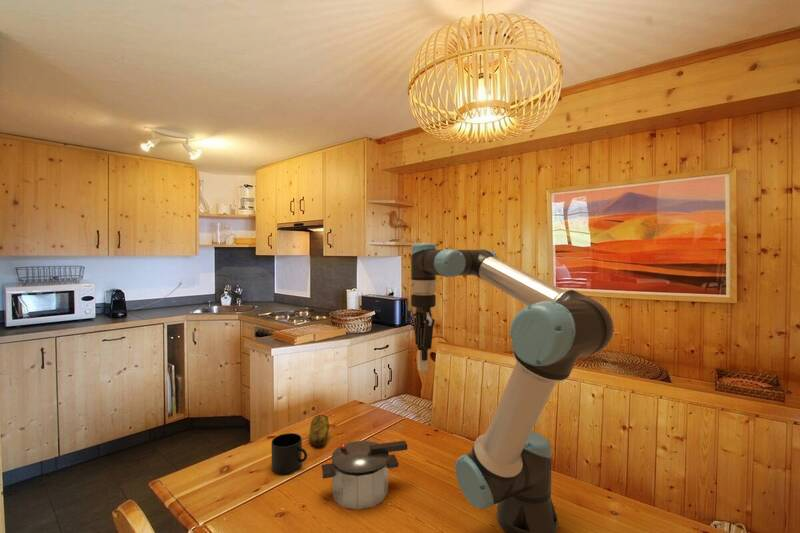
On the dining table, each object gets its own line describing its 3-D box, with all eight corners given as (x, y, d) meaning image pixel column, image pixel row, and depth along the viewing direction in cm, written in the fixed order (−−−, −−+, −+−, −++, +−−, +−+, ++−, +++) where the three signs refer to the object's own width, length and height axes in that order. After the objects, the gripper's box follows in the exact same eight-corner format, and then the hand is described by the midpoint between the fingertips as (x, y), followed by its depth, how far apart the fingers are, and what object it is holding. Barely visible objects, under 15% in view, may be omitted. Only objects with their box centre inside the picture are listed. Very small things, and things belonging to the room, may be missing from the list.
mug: (299, 478, 117) (299, 450, 117) (265, 472, 120) (265, 444, 120) (313, 462, 126) (313, 435, 126) (282, 457, 129) (282, 431, 129)
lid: (414, 464, 106) (414, 455, 106) (334, 477, 100) (334, 467, 100) (398, 438, 123) (398, 430, 123) (329, 447, 117) (329, 439, 117)
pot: (403, 501, 106) (403, 469, 106) (324, 515, 101) (324, 481, 100) (388, 467, 123) (388, 439, 123) (320, 478, 117) (320, 448, 117)
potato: (301, 448, 135) (301, 426, 135) (314, 431, 148) (314, 411, 148) (323, 450, 134) (323, 428, 134) (335, 433, 147) (335, 412, 147)
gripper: (405, 291, 120) (405, 365, 121) (418, 296, 108) (418, 377, 109) (427, 291, 123) (427, 363, 123) (443, 295, 110) (442, 375, 111)
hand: (423, 369), depth 116 cm, fingers closed
